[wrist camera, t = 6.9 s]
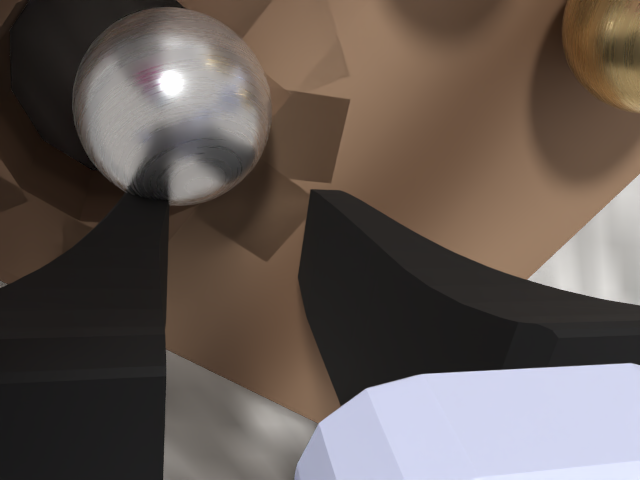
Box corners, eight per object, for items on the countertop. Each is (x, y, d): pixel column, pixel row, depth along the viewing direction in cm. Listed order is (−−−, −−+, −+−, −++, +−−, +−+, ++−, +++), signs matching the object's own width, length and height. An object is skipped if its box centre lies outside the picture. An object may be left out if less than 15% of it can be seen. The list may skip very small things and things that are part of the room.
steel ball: (262, 78, 8) (201, -71, 9) (42, 177, 8) (15, 16, 10) (317, 191, 11) (263, 65, 12) (153, 263, 11) (119, 129, 12)
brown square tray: (700, 15, 15) (784, 36, 13) (328, 384, 19) (348, 446, 17) (269, -663, 9) (303, -839, 7) (-184, 110, 12) (-256, 158, 10)
